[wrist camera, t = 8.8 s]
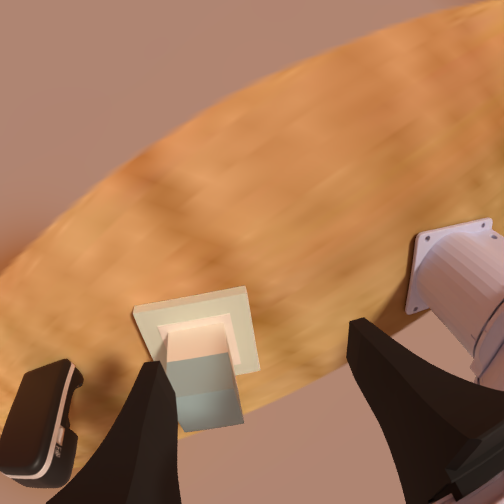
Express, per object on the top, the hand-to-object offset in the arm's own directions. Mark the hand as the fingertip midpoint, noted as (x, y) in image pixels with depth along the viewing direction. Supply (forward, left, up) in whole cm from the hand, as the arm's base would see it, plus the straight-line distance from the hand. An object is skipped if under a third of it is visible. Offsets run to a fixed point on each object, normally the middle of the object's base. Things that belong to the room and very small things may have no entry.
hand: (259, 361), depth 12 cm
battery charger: (+18, +10, -11) cm, 23 cm away
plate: (+4, +8, -10) cm, 13 cm away
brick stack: (+4, +8, -9) cm, 13 cm away
